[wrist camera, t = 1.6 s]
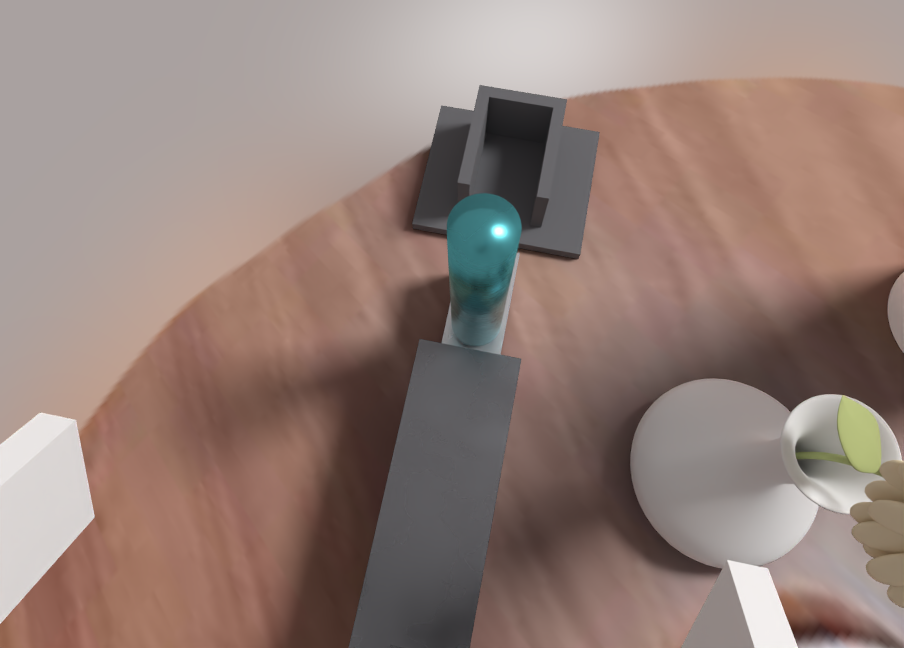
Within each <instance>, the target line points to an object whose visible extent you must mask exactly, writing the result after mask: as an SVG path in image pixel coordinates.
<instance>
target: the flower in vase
mask: <svg viewBox="0 0 904 648" xmlns="http://www.w3.org/2000/svg"><path fill="white" fill-rule="evenodd" d="M630 468H631V477H632V482H633V486H634V491H635V494H636V496H637V499H638V502H639V504H640V506H641V508H642V510H643V512H644V514H645V516H646V517H647V519H648V520H649V522H650V523H651V524H652V526H653V527H654V528H655V530H656V531H657V532H658V533H659V534H660V535H661V536H662V538H664V539H665V540H666V541H667V542H668V543H669V544H670V545H671V546H673V547H674V548H675V549H677V550H678V551H680V552H681V553H682V554H684V555H686V556H688V557H690V558H692V559H693V560H695V561H698V562H701V563H703V564H706V565H709V566H713V567H717V568H722V569H723V567H724V565H725V563H726V561H727V560H731V561H735V562H740V563H745V564H749V565H754V566H759V567H760V566H763V565H766V564H769V563H771V562H773V561H775V560H777V559H779V558H781V557H782V556H784V555H785V554H786V553H788V552H789V551H790V550H792V549H793V548H794V547H795V546H796V545H797V544H798V543H799V542H800V540H801V539H802V538H803V537H804V536H805V534H806V533H807V532H808V530H809V529H810V527H811V525H812V523H813V521H814V519H815V516H816V513H817V511H818V508H819V506H820V507H822V508H824V509H827V510H829V511H832V512H836V513H840V514H847V515H851V516H852V517H853V518H854V519H855V520H856V521H857V522H859V523H858V524H857V525H855V526H854V527H853V529H852V535H853V537H854V538H855V539H856V540H857V541H858V542H860V543H861V544H863V547H864V550H865V552H866V553H867V554H868V555H870V556H871V557H873V558H874V559H872V560H870V561H869V562H868V563H867V564H866V570H867V572H868V574H869V575H870V576H871V577H872V578H873V579H874V580H876V581H878V582H880V583H883V584H887V585H890V586H889V588H888V591H887V595H888V597H889V599H890V600H891V601H892V602H893V603H895V604H896V605H898V606H900V607H902V608H904V461H902V459H901V453H900V449H899V445H898V442H897V440H896V438H895V436H894V434H893V432H892V430H891V429H890V427H889V426H888V424H887V423H886V422H885V421H884V419H883V418H882V417H881V416H880V415H879V414H878V413H877V412H875V411H874V410H873V409H872V408H870V407H869V406H867V405H866V404H864V403H862V402H860V401H858V400H856V399H853V398H850V397H847V396H844V395H836V394H824V395H818V396H815V397H812V398H809V399H807V400H805V401H803V402H802V403H800V404H799V405H798V406H797V407H796V408H794V409H793V411H792V412H790V411H789V410H788V409H787V408H786V407H785V406H783V405H782V404H781V403H780V402H778V401H777V400H776V399H774V398H773V397H771V396H770V395H768V394H766V393H765V392H763V391H761V390H758V389H756V388H754V387H752V386H749V385H746V384H743V383H741V382H737V381H732V380H728V379H717V378H711V379H699V380H694V381H690V382H687V383H683V384H681V385H678V386H676V387H674V388H672V389H670V390H669V391H667V392H666V393H664V394H663V395H661V396H660V397H659V398H658V399H657V400H656V401H655V402H654V403H653V404H652V405H651V406H650V407H649V408H648V410H647V411H646V412H645V414H644V416H643V417H642V419H641V420H640V422H639V425H638V427H637V429H636V431H635V435H634V438H633V442H632V448H631V455H630Z"/></svg>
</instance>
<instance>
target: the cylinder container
mask: <svg viewBox="0 0 904 648" xmlns="http://www.w3.org/2000/svg"><path fill="white" fill-rule="evenodd" d="M888 320H889V324H890V328H891V331H892V334H893V336H894V338H895V340H896V342H897V344H898V346H899V347H900V349H901V350H902V352H903V353H904V272H903V273H902V274H901V275H900V276H899V277H898V279H897V280H896V281H895V283H894V285H893V287H892V289H891V291H890V295H889V299H888Z"/></svg>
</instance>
